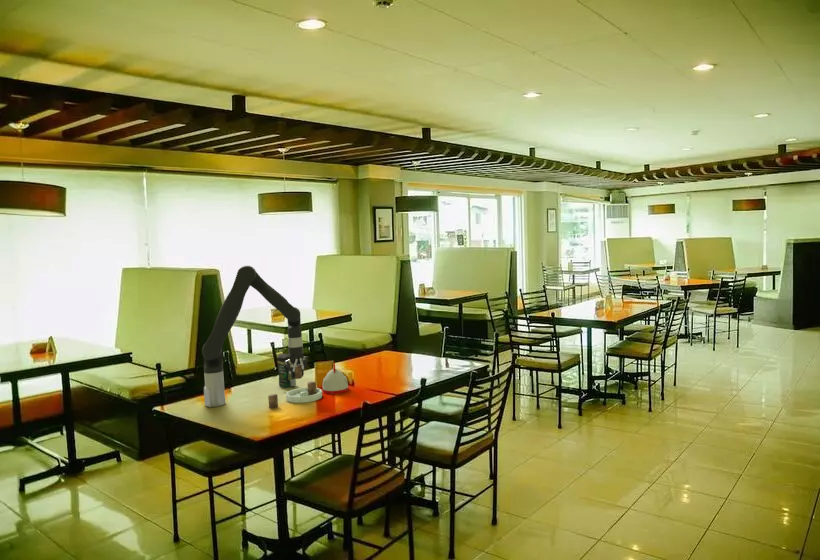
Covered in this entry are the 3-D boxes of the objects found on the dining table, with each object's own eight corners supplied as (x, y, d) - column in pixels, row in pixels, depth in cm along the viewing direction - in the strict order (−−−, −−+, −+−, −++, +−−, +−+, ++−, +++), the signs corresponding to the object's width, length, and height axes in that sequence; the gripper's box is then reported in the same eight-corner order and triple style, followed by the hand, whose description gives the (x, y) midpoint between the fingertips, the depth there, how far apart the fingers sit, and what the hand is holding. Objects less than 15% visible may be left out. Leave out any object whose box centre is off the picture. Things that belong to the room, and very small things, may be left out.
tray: (299, 405, 283) (299, 399, 283) (279, 398, 296) (279, 393, 296) (329, 396, 296) (328, 391, 296) (308, 391, 309) (308, 385, 309)
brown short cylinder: (272, 409, 279) (271, 397, 278) (267, 407, 282) (266, 395, 282) (279, 406, 282) (279, 395, 282) (275, 405, 285) (274, 393, 285)
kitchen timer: (347, 386, 316) (346, 359, 315) (348, 392, 302) (347, 365, 301) (322, 388, 314) (321, 361, 313) (322, 395, 300) (321, 367, 299)
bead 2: (311, 395, 297) (310, 384, 296) (306, 394, 300) (305, 382, 299) (318, 393, 300) (317, 382, 299) (313, 392, 303) (312, 381, 302)
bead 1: (296, 379, 296) (295, 368, 295) (291, 378, 299) (291, 367, 298) (303, 377, 299) (302, 366, 299) (298, 376, 302) (298, 365, 302)
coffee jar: (276, 386, 322) (274, 354, 320) (288, 383, 328) (286, 352, 326) (287, 389, 315) (284, 356, 314) (298, 386, 321) (296, 353, 320)
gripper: (287, 348, 290) (290, 381, 291) (310, 343, 300) (312, 375, 301) (279, 347, 295) (282, 379, 297) (302, 342, 305) (304, 373, 307)
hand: (297, 377), depth 299 cm, fingers closed on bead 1, 4 cm apart
